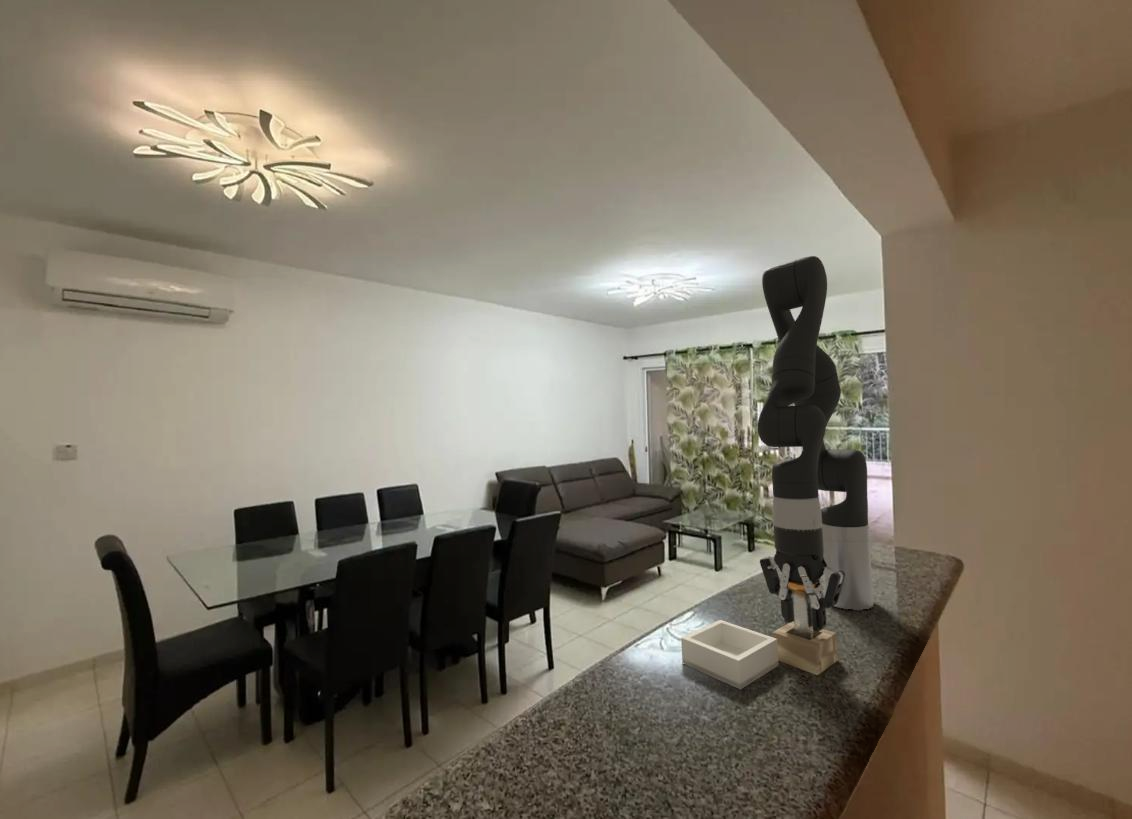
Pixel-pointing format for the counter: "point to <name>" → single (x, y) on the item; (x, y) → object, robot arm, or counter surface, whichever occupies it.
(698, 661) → the tray
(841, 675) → the counter surface
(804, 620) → the pin
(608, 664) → the counter surface
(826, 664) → the pin block
